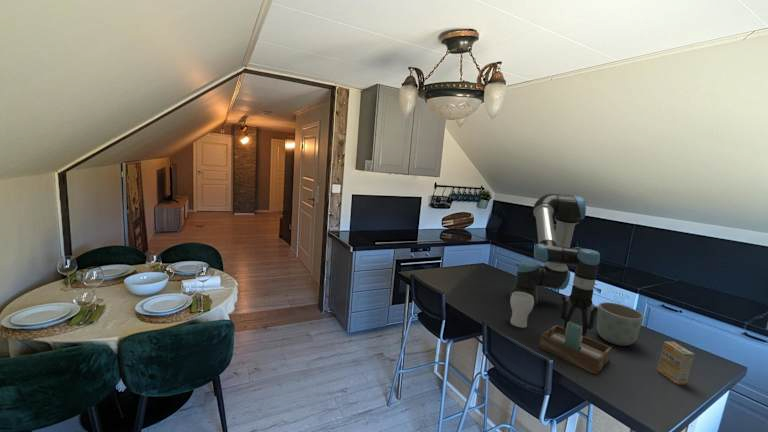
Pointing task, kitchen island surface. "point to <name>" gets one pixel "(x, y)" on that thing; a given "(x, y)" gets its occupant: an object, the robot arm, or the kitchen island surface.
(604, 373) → the kitchen island surface
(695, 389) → the kitchen island surface
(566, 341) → the peg
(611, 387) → the kitchen island surface
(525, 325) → the cup
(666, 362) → the supplement box
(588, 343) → the crate
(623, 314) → the planter
